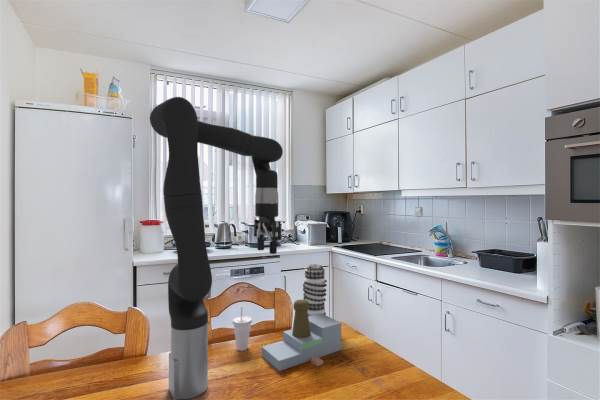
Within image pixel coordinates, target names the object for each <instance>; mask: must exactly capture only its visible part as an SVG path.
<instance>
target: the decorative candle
mask: <svg viewBox="0 0 600 400" xmlns="http://www.w3.org/2000/svg"><path fill="white" fill-rule="evenodd" d="M303 271H304V282H303V284H302V287H303V288H302V292H303V297H302V298H303V299H302V300H306V301H308V303H309V309H308V316H312V315H316V314H320V313H322V314H324V315H326V316H327V313H326V308H325V305H326V304H325V302H326V300H327V299H326V298H325V297H326V296H327V293H326V292H327V289H326V288H325V287H327V285H328V284H327V282H328V281H327V279H326V277H325V274H326V273H325V271H326V269H325V268H324V267H323V265H321V264H315V263H314V264H313V263H312V264H308V265H306V267H305V268H304V269H303Z"/></svg>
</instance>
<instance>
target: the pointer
mask: <svg viewBox="0 0 600 400" xmlns="http://www.w3.org/2000/svg"><path fill="white" fill-rule="evenodd" d="M310 362H311V364H313V365H314V366H316V367H320V366H322V365H324V360H323V359H321V357H319V358H318V357H311V360H310Z"/></svg>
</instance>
